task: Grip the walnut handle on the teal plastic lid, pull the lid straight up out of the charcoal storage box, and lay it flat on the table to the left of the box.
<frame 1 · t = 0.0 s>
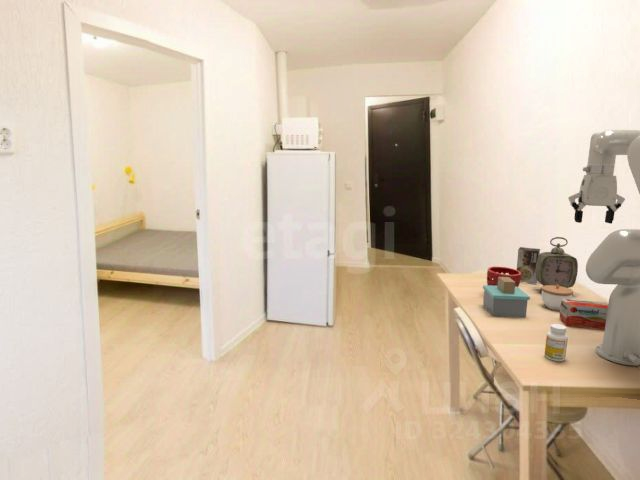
hand: (593, 222, 143), 37 cm above the table, tool pointing down, fingers open, 9 cm apart
coffee box: (526, 281, 205), on the table
lid: (504, 296, 162), point 6 cm above the table, touching storage box
tabletop clock: (552, 292, 188), on the table
lidded jar: (555, 308, 168), on the table
storage box: (503, 311, 163), on the table
plant pot: (501, 297, 180), on the table
medicine box: (585, 325, 151), on the table
supplement bottle: (554, 358, 125), on the table
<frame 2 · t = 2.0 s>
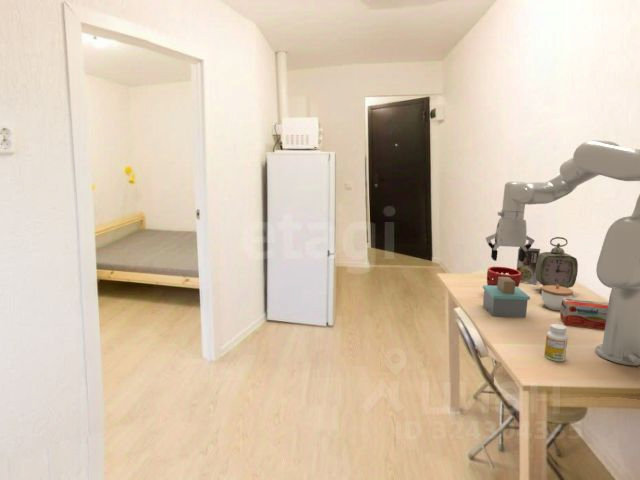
hand: (507, 260, 160), 20 cm above the table, tool pointing down, fingers open, 9 cm apart
nothing on the table moved.
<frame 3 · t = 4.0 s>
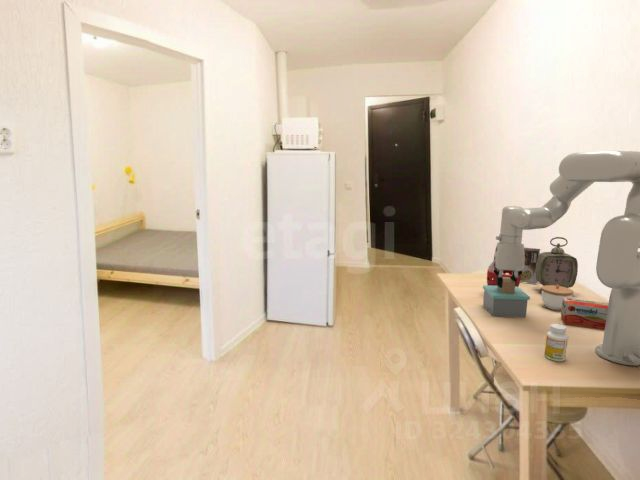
hand: (505, 286, 161), 10 cm above the table, tool pointing down, fingers closed on lid, 4 cm apart
lid: (504, 296, 162), point 6 cm above the table, touching gripper, storage box
everything else where it was.
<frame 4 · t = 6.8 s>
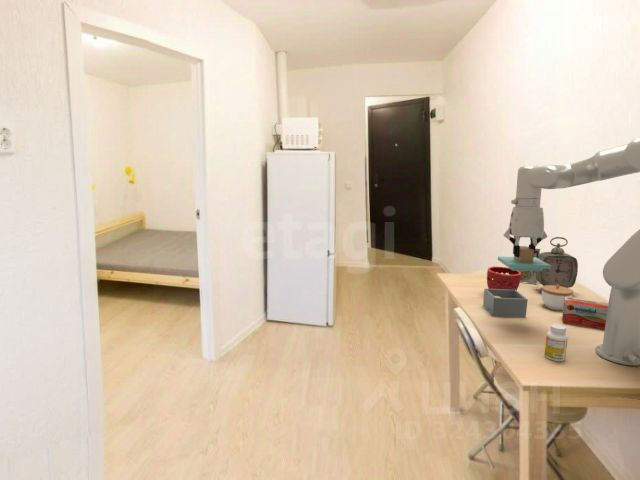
hand: (523, 256, 146), 25 cm above the table, tool pointing down, fingers closed on lid, 4 cm apart
lid: (522, 267, 147), point 21 cm above the table, touching gripper
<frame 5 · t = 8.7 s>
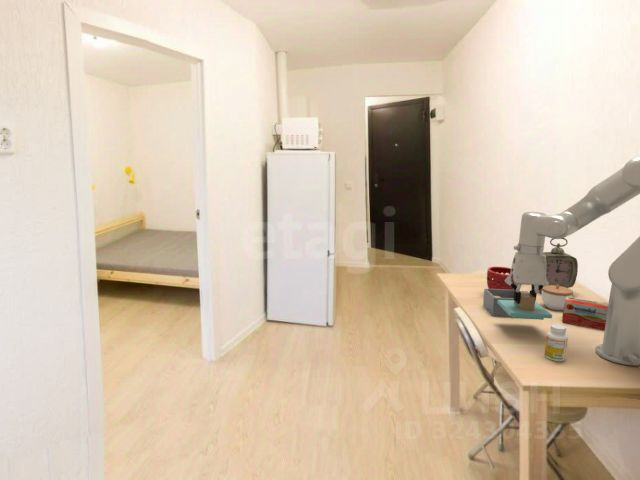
hand: (524, 302, 143), 10 cm above the table, tool pointing down, fingers closed on lid, 4 cm apart
lid: (522, 313, 144), point 6 cm above the table, touching gripper
when the fingers open (5 cm above the table, at t = 10.1 s): lid drops 1 cm, on the table.
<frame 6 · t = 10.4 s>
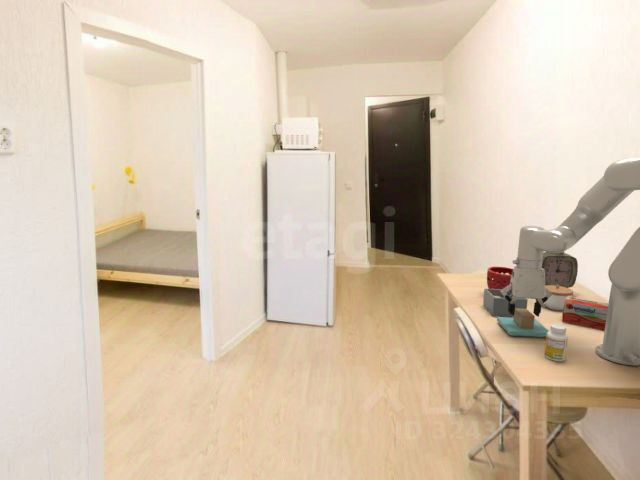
hand: (523, 314, 143), 6 cm above the table, tool pointing down, fingers open, 7 cm apart
lid: (522, 331, 145), on the table
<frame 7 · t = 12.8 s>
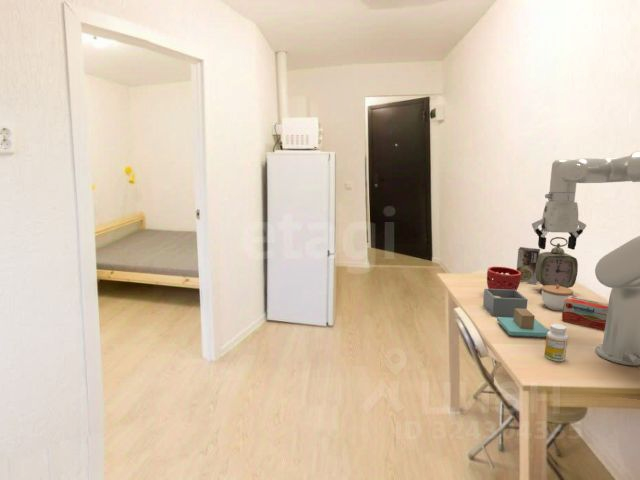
hand: (556, 248, 143), 28 cm above the table, tool pointing down, fingers open, 9 cm apart
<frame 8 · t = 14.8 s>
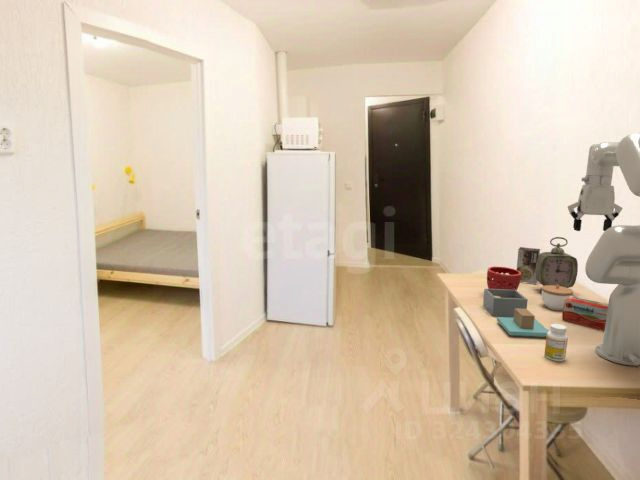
hand: (591, 230, 147), 33 cm above the table, tool pointing down, fingers open, 9 cm apart
at the end: lid inside the target area (0.1 cm from its centre), on the table; lid tilted 0°; the gripper is holding nothing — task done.
